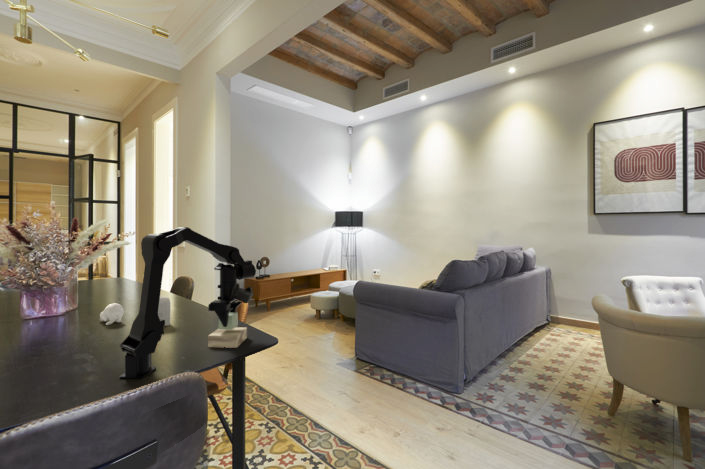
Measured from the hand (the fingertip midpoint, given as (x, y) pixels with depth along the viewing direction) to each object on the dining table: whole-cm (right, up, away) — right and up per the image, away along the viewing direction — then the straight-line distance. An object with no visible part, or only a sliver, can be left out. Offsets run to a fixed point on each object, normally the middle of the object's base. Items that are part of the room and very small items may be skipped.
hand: (228, 324), depth 118 cm
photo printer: (-36, -6, +18) cm, 41 cm away
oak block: (0, -7, 0) cm, 6 cm away
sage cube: (0, -1, 0) cm, 1 cm away
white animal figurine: (-59, -5, +22) cm, 64 cm away
